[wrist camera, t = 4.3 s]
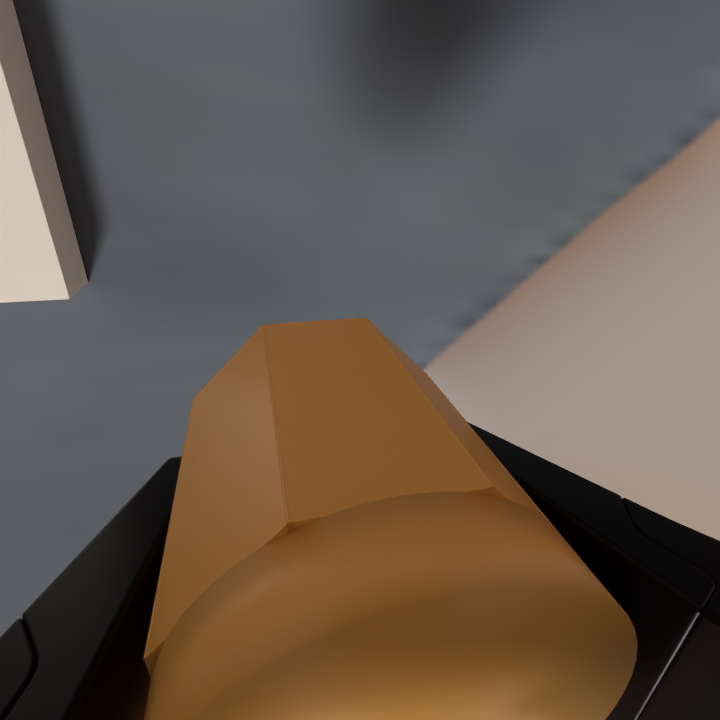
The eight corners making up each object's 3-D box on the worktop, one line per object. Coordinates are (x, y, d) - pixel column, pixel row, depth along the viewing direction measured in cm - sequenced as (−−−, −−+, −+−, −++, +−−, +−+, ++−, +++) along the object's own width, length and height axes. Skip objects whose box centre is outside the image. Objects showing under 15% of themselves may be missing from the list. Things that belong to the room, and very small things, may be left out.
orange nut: (417, 494, 11) (570, 792, 6) (211, 529, 10) (181, 938, 5) (437, 308, 9) (712, 528, 4) (174, 325, 8) (40, 684, 3)
